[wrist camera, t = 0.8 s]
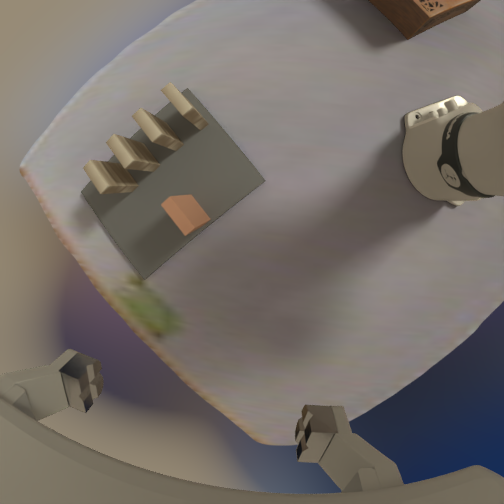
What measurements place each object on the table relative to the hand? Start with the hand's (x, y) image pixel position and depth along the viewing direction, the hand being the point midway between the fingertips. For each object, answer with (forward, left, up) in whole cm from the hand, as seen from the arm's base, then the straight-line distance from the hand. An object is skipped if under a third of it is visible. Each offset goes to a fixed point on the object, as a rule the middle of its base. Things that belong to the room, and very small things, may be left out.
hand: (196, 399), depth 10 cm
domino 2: (+10, -21, -36) cm, 43 cm away
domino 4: (-5, -21, -36) cm, 42 cm away
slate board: (+6, -16, -37) cm, 41 cm away
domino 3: (0, -21, -36) cm, 41 cm away
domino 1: (+5, -21, -36) cm, 42 cm away
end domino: (+4, -9, -36) cm, 37 cm away
